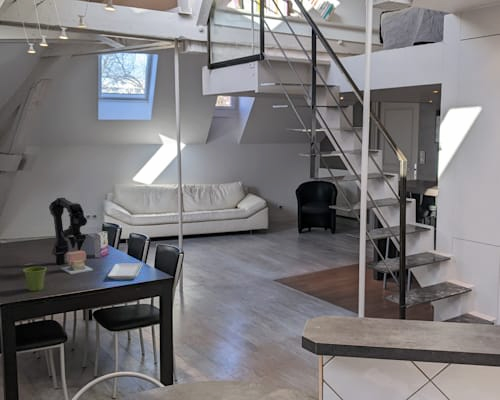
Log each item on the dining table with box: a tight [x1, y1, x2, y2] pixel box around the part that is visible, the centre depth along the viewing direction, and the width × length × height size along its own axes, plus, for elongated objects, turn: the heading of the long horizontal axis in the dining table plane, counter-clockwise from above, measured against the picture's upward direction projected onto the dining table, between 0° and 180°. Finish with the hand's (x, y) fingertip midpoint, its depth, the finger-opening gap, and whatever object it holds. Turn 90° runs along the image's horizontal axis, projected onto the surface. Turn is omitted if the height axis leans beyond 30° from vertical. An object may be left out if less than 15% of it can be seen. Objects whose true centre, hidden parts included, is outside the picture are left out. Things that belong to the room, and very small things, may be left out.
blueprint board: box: [60, 265, 94, 275], centre depth 342 cm, size 16×14×1 cm
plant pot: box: [22, 266, 48, 292], centre depth 298 cm, size 12×12×11 cm
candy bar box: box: [93, 231, 109, 259], centre depth 379 cm, size 11×5×16 cm, turn 168°
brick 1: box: [65, 250, 87, 263], centre depth 341 cm, size 10×6×5 cm, turn 129°
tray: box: [107, 262, 143, 281], centre depth 331 cm, size 17×32×4 cm, turn 5°
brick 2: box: [68, 260, 86, 271], centre depth 341 cm, size 10×6×5 cm, turn 38°
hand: (76, 249), depth 340 cm, fingers open, 9 cm apart
